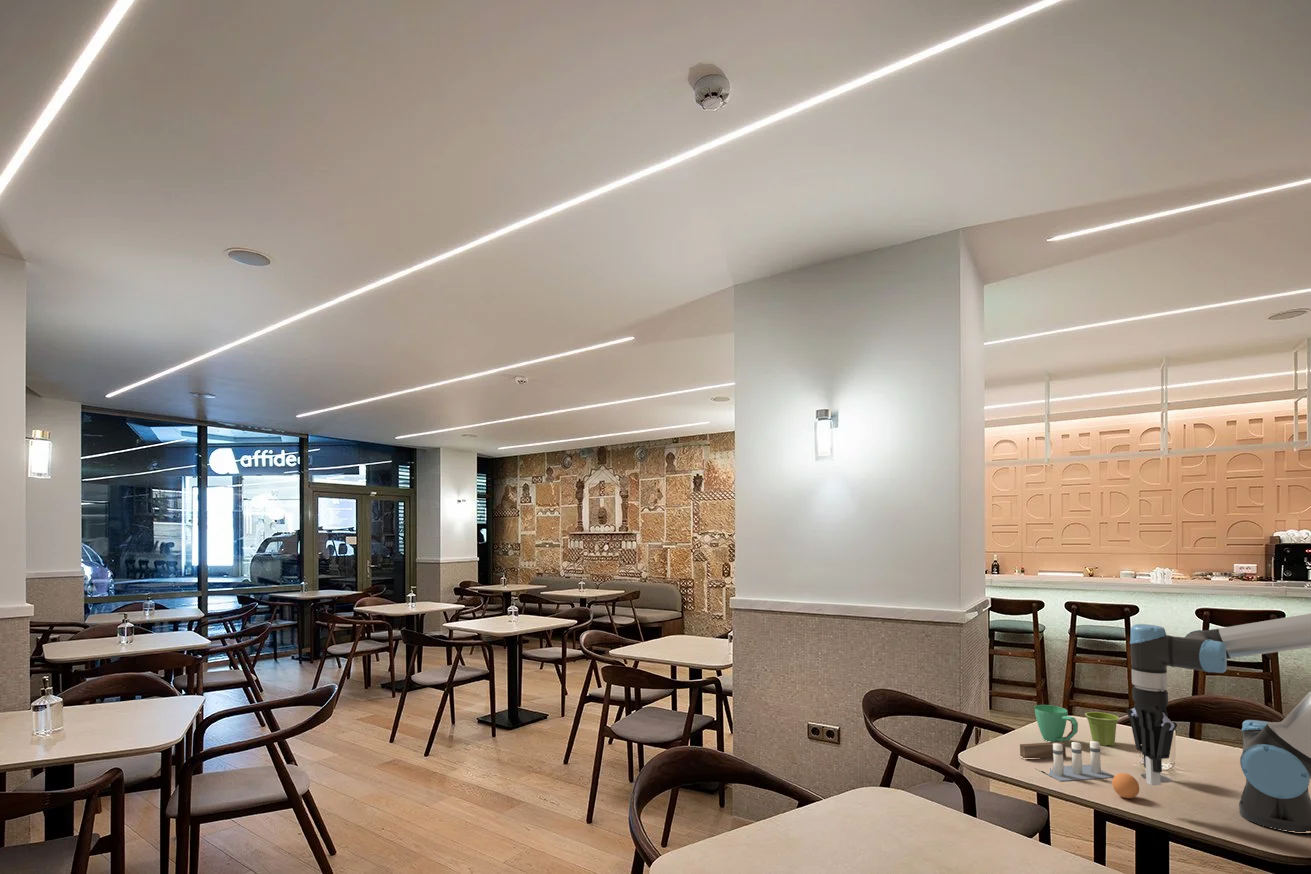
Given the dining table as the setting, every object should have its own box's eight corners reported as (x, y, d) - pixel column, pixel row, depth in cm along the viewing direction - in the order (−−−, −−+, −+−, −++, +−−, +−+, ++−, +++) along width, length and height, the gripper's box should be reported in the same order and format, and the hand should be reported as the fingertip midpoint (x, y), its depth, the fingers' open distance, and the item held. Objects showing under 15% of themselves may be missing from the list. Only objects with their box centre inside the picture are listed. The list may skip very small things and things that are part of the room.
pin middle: (1084, 775, 206) (1083, 744, 207) (1077, 776, 206) (1075, 745, 207) (1078, 772, 209) (1076, 741, 210) (1070, 773, 208) (1069, 742, 209)
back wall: (1065, 757, 221) (1065, 743, 222) (1024, 760, 219) (1024, 746, 219) (1061, 755, 223) (1060, 741, 224) (1020, 757, 221) (1019, 744, 221)
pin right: (1103, 774, 207) (1101, 743, 208) (1095, 774, 207) (1094, 743, 208) (1096, 771, 210) (1095, 740, 211) (1088, 771, 209) (1087, 741, 210)
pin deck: (1116, 777, 205) (1116, 776, 205) (1060, 781, 202) (1059, 780, 202) (1089, 765, 215) (1089, 764, 215) (1035, 768, 212) (1035, 768, 212)
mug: (1028, 737, 241) (1026, 706, 242) (1051, 734, 244) (1049, 703, 245) (1066, 751, 227) (1064, 718, 228) (1089, 748, 230) (1088, 715, 231)
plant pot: (1082, 743, 235) (1080, 715, 236) (1091, 737, 242) (1090, 710, 243) (1115, 750, 229) (1113, 721, 229) (1124, 743, 235) (1122, 716, 236)
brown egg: (1145, 801, 188) (1144, 777, 189) (1125, 802, 187) (1124, 778, 188) (1126, 792, 194) (1125, 769, 195) (1107, 793, 193) (1106, 770, 194)
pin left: (1066, 776, 205) (1064, 745, 206) (1058, 777, 205) (1056, 746, 206) (1059, 773, 208) (1058, 742, 209) (1052, 774, 207) (1050, 743, 208)
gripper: (1185, 693, 179) (1189, 793, 177) (1141, 680, 191) (1144, 773, 189) (1159, 694, 177) (1163, 795, 175) (1116, 681, 190) (1119, 775, 188)
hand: (1153, 783), depth 182 cm, fingers closed
